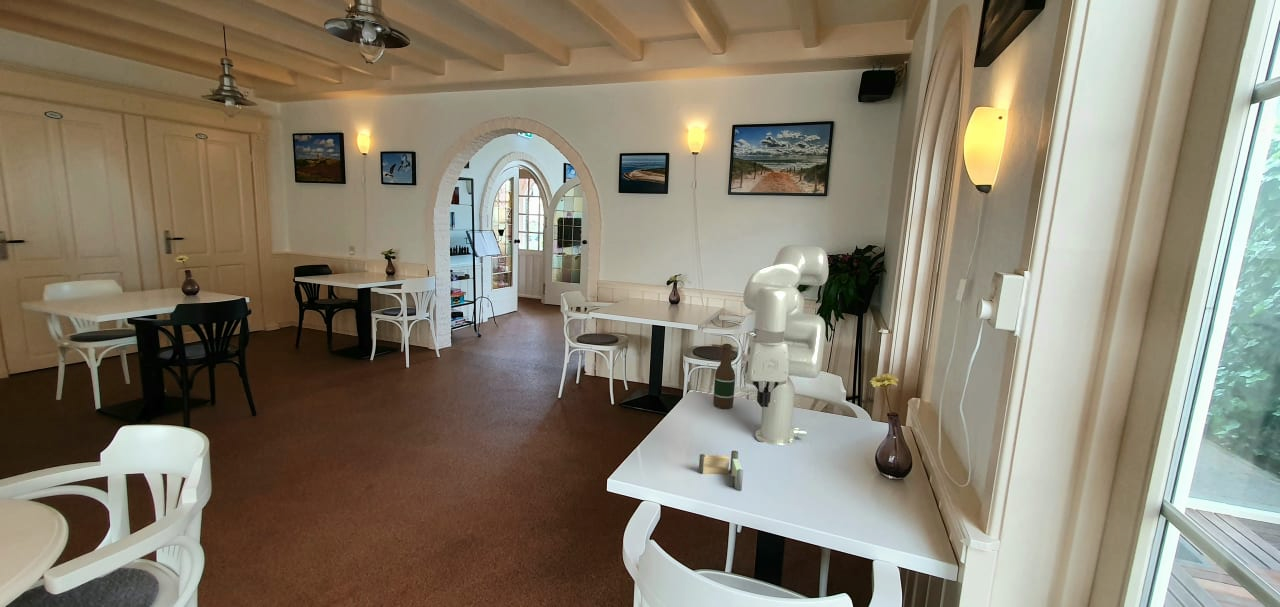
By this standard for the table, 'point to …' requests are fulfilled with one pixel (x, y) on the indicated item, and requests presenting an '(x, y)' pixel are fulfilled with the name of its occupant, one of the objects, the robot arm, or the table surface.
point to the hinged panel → (737, 474)
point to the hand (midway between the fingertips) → (763, 405)
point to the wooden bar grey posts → (717, 465)
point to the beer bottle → (724, 381)
